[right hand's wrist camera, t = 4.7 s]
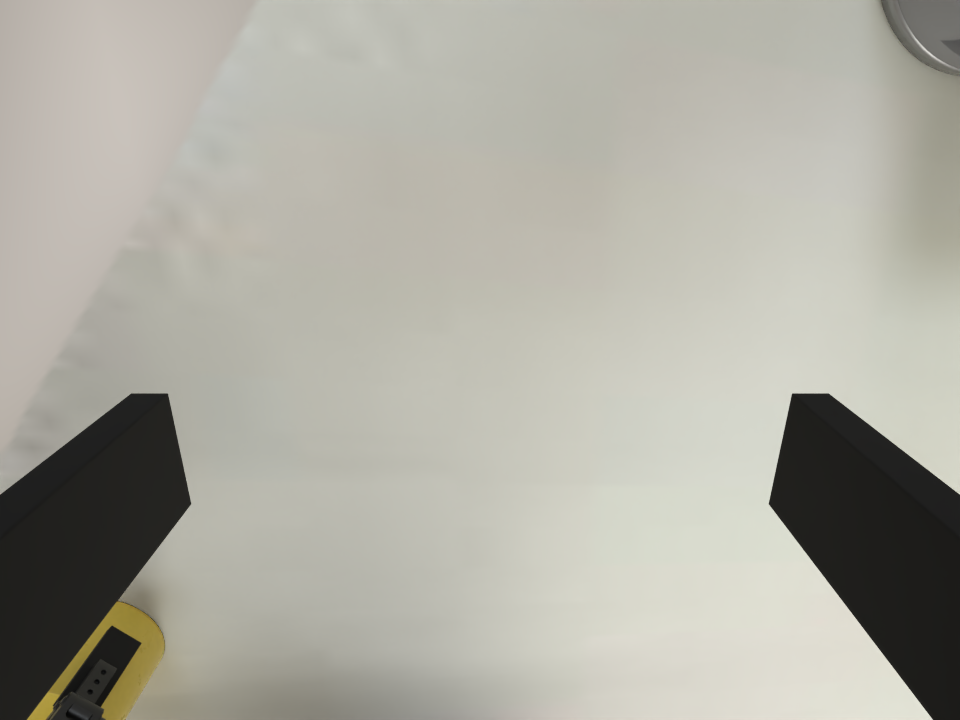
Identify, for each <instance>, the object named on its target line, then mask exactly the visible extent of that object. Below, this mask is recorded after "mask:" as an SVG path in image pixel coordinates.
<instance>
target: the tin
mask: <svg viewBox="0 0 960 720" xmlns="http://www.w3.org/2000/svg"><path fill="white" fill-rule="evenodd" d="M111 626H114V627H116V628H117V629H119V630H121V631H122V632H124V633H126V634H128V635H129V636H131V637H133V638H134V639H136V640H138V641H139V642H141V643H142V644H141V645H140V647H139V648H138V650H137V651H136V653H135V655H134V656H133V658H132V659H131V661H130V662H129V664H128V665H127V667H126V669H125V670H124V672H123V673H122V675H121V676H120V678H119V680H118V681H117V683H116V684H115V686H114V687H113V689H112V690H111V692H110V694H109V695H108V697H107V698H106V700H105V701H104V703H103V705H102V706H101V708H103V709H104V713H103V715H102V717H103V718H105V719H106V720H125V719H126V717H127V716H128V714H129V712H130V711H131V709H132V707H133V706H134V704H135V702H136V701H137V699H138V697H139V696H140V694H141V692H142V690H143V689H144V687H145V685H146V684H147V682H148V680H149V679H150V677H151V675H152V674H153V672H154V670H155V669H156V667H157V665H158V664H159V662H160V660H161V658H162V656H163V654H164V648H165V644H164V638H163V635H162V633H161V631H160V629H159V627H158V626H157V625H156V623H155V622H154V621H153V620H152V619H151V618H150V617H149V616H147V615H146V614H145V613H144V612H142V611H140V610H139V609H137V608H135V607H133V606H131V605H128V604H125V603H122V602H118V601H117V602H116V603H115V605H114V606H113V607H112V609H111V610H110V611H109V613H108V614H107V615H106V616H105V618H104V619H103V620H102V622H101V623H100V624H99V626H98V627H97V628H96V630H95V631H94V632H93V634H92V635H91V636H90V637H89V639H88V640H87V641H86V643H85V644H84V645H83V647H82V648H81V649H80V651H79V652H78V653H77V655H76V656H75V657H74V659H73V660H72V661H71V662H70V664H69V665H68V666H67V668H66V669H65V670H64V672H63V673H62V674H61V676H60V677H59V678H58V680H57V681H56V682H55V683H54V685H53V686H52V687H51V689H50V690H49V691H48V693H47V694H46V695H45V697H44V698H43V699H42V701H41V702H40V703H39V704H38V706H37V707H36V708H35V710H34V711H33V712H32V714H31V715H30V716H29V718H28V719H27V720H46V718H47V717H48V716H49V715H50V713H51V712H52V711H53V707H54V706H53V704H54V703H55V702H56V700H57V699H58V697H59V696H60V695H61V693H62V692H63V690H64V689H65V688H66V686H67V685H68V684H69V682H70V681H71V679H72V678H73V677H74V675H75V674H76V673H77V671H78V670H79V668H80V667H81V666H82V664H83V663H84V661H85V660H86V659H87V657H88V656H89V655H90V653H91V652H92V650H93V649H94V648H95V646H96V645H97V643H98V642H99V641H100V639H101V638H102V637H103V635H104V634H105V632H106V631H107V630H108V629H109V628H110V627H111Z"/></svg>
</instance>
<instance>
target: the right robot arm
mask: <svg viewBox="0 0 960 720" xmlns="http://www.w3.org/2000/svg"><path fill="white" fill-rule="evenodd" d="M881 2H882V5H883V9H884V12H885V14H886V17H887V19H888V22H889V24H890V26H891V28H892V29H893V31H894V33H895V35H896V36H897V37H898V39H899V40H900V42H901V43H902V44H903V45H904V46H905V48H906V49H907V50H908V51H909V52H910V53H911V54H913V55H914V56H915V57H916V58H917V59H919V60H920V61H922V62H923V63H925V64H926V65H928V66H930V67H932V68H934V69H937V70H939V71H942V72H945V73H948V74H953V75H958V76H960V0H881ZM190 505H191V501H190V496H189V491H188V487H187V482H186V477H185V472H184V468H183V463H182V458H181V454H180V449H179V444H178V439H177V435H176V430H175V425H174V421H173V416H172V411H171V406H170V402H169V397H168V394H130V395H129V396H128V397H126V398H125V399H124V400H122V401H121V402H120V403H119V404H117V405H116V406H115V407H113V408H112V409H111V410H110V411H108V412H107V413H106V414H104V415H103V416H102V417H100V418H99V419H98V420H97V421H95V422H94V423H93V424H91V425H90V426H89V427H87V428H86V429H85V430H84V431H82V432H81V433H80V434H78V435H77V436H76V437H75V438H73V439H72V440H71V441H69V442H68V443H67V444H65V445H64V446H63V447H62V448H60V449H59V450H58V451H56V452H55V453H54V454H52V455H51V456H50V457H49V458H47V459H46V460H45V461H43V462H42V463H41V464H40V465H38V466H37V467H36V468H34V469H33V470H32V471H30V472H29V473H28V474H27V475H25V476H24V477H23V478H21V479H20V480H19V481H17V482H16V483H15V484H14V485H12V486H11V487H10V488H8V489H7V490H6V491H5V492H3V493H2V494H1V495H0V720H27V719H28V718H29V716H30V715H31V714H32V712H33V711H34V710H35V708H36V707H37V706H38V704H39V703H40V702H41V701H42V699H43V698H44V697H45V695H46V694H47V693H48V691H49V690H50V689H51V687H52V686H53V685H54V683H55V682H56V681H57V680H58V678H59V677H60V676H61V674H62V673H63V672H64V670H65V669H66V668H67V666H68V665H69V664H70V662H71V661H72V660H73V659H74V657H75V656H76V655H77V653H78V652H79V651H80V649H81V648H82V647H83V645H84V644H85V643H86V641H87V640H88V639H89V637H90V636H91V635H92V634H93V632H94V631H95V630H96V628H97V627H98V626H99V624H100V623H101V622H102V620H103V619H104V618H105V616H106V615H107V614H108V613H109V611H110V610H111V609H112V607H113V606H114V605H115V603H116V602H117V601H118V599H119V598H120V597H121V595H122V594H123V593H124V592H125V590H126V589H127V588H128V586H129V585H130V584H131V582H132V581H133V580H134V578H135V577H136V576H137V574H138V573H139V572H140V571H141V569H142V568H143V567H144V565H145V564H146V563H147V561H148V560H149V559H150V557H151V556H152V555H153V553H154V552H155V551H156V550H157V548H158V547H159V546H160V544H161V543H162V542H163V540H164V539H165V538H166V536H167V535H168V534H169V532H170V531H171V530H172V528H173V527H174V526H175V525H176V523H177V522H178V521H179V519H180V518H181V517H182V515H183V514H184V513H185V511H186V510H187V509H188V507H189V506H190ZM769 505H770V506H771V507H772V509H773V510H774V511H775V513H776V514H777V515H778V517H779V518H780V519H781V521H782V522H783V523H784V525H785V526H786V527H787V528H788V530H789V531H790V532H791V534H792V535H793V536H794V538H795V539H796V540H797V542H798V543H799V544H800V546H801V547H802V548H803V550H804V551H805V552H806V553H807V555H808V556H809V557H810V559H811V560H812V561H813V563H814V564H815V565H816V567H817V568H818V569H819V571H820V572H821V573H822V574H823V576H824V577H825V578H826V580H827V581H828V582H829V584H830V585H831V586H832V588H833V589H834V590H835V592H836V593H837V594H838V595H839V597H840V598H841V599H842V601H843V602H844V603H845V605H846V606H847V607H848V609H849V610H850V611H851V613H852V614H853V615H854V616H855V618H856V619H857V620H858V622H859V623H860V624H861V626H862V627H863V628H864V630H865V631H866V632H867V634H868V635H869V636H870V637H871V639H872V640H873V641H874V643H875V644H876V645H877V647H878V648H879V649H880V651H881V652H882V653H883V655H884V656H885V657H886V659H887V660H888V661H889V662H890V664H891V665H892V666H893V668H894V669H895V670H896V672H897V673H898V674H899V676H900V677H901V678H902V680H903V681H904V682H905V683H906V685H907V686H908V687H909V689H910V690H911V691H912V693H913V694H914V695H915V697H916V698H917V699H918V701H919V702H920V703H921V704H922V706H923V707H924V708H925V710H926V711H927V712H928V714H929V715H930V716H931V718H932V719H933V720H960V495H959V494H958V493H957V492H955V491H954V490H953V489H952V488H950V487H949V486H948V485H946V484H945V483H944V482H943V481H941V480H940V479H939V478H937V477H936V476H935V475H933V474H932V473H931V472H930V471H928V470H927V469H926V468H924V467H923V466H922V465H920V464H919V463H918V462H917V461H915V460H914V459H913V458H911V457H910V456H909V455H908V454H906V453H905V452H904V451H902V450H901V449H900V448H898V447H897V446H896V445H895V444H893V443H892V442H891V441H889V440H888V439H887V438H885V437H884V436H883V435H882V434H880V433H879V432H878V431H876V430H875V429H874V428H873V427H871V426H870V425H869V424H867V423H866V422H865V421H863V420H862V419H861V418H860V417H858V416H857V415H856V414H854V413H853V412H852V411H850V410H849V409H848V408H847V407H845V406H844V405H843V404H841V403H840V402H839V401H838V400H836V399H835V398H834V397H832V396H831V395H830V394H792V397H791V402H790V406H789V411H788V416H787V420H786V425H785V430H784V435H783V439H782V444H781V449H780V454H779V458H778V463H777V468H776V472H775V477H774V482H773V487H772V491H771V496H770V501H769Z"/></svg>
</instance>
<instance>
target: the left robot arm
mask: <svg viewBox="0 0 960 720" xmlns="http://www.w3.org/2000/svg"><path fill="white" fill-rule="evenodd" d="M141 644H142V643H141V642H139V641H138V640H136V639H134V638H133V637H131V636H129V635H128V634H126V633H124V632H122V631H121V630H119V629H117V628H116V627H114V626H111V627H110V628H109V629H108V630H107V631H106V632H105V634H104V635H103V637H102V638H101V639H100V641H99V642H98V643H97V645H96V646H95V648H94V649H93V650H92V652H91V653H90V655H89V656H88V657H87V659H86V660H85V661H84V663H83V664H82V666H81V667H80V668H79V670H78V671H77V673H76V674H75V675H74V677H73V678H72V679H71V681H70V682H69V684H68V685H67V686H66V688H65V689H64V690H63V692H62V693H61V695H60V696H59V697H58V699H57V700H56V702H55V703H54V704H53V706H54V707H53V711H52V712H51V713H50V715H49V716H48V717H47V718H46V720H106V719H105V718H103V717H102V715H103V713H104V709H103V708H101V706H102V705H103V703H104V701H105V700H106V698H107V697H108V695H109V694H110V692H111V690H112V689H113V687H114V686H115V684H116V683H117V681H118V680H119V678H120V676H121V675H122V673H123V672H124V670H125V669H126V667H127V665H128V664H129V662H130V661H131V659H132V658H133V656H134V655H135V653H136V651H137V650H138V648H139V647H140V645H141Z"/></svg>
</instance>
